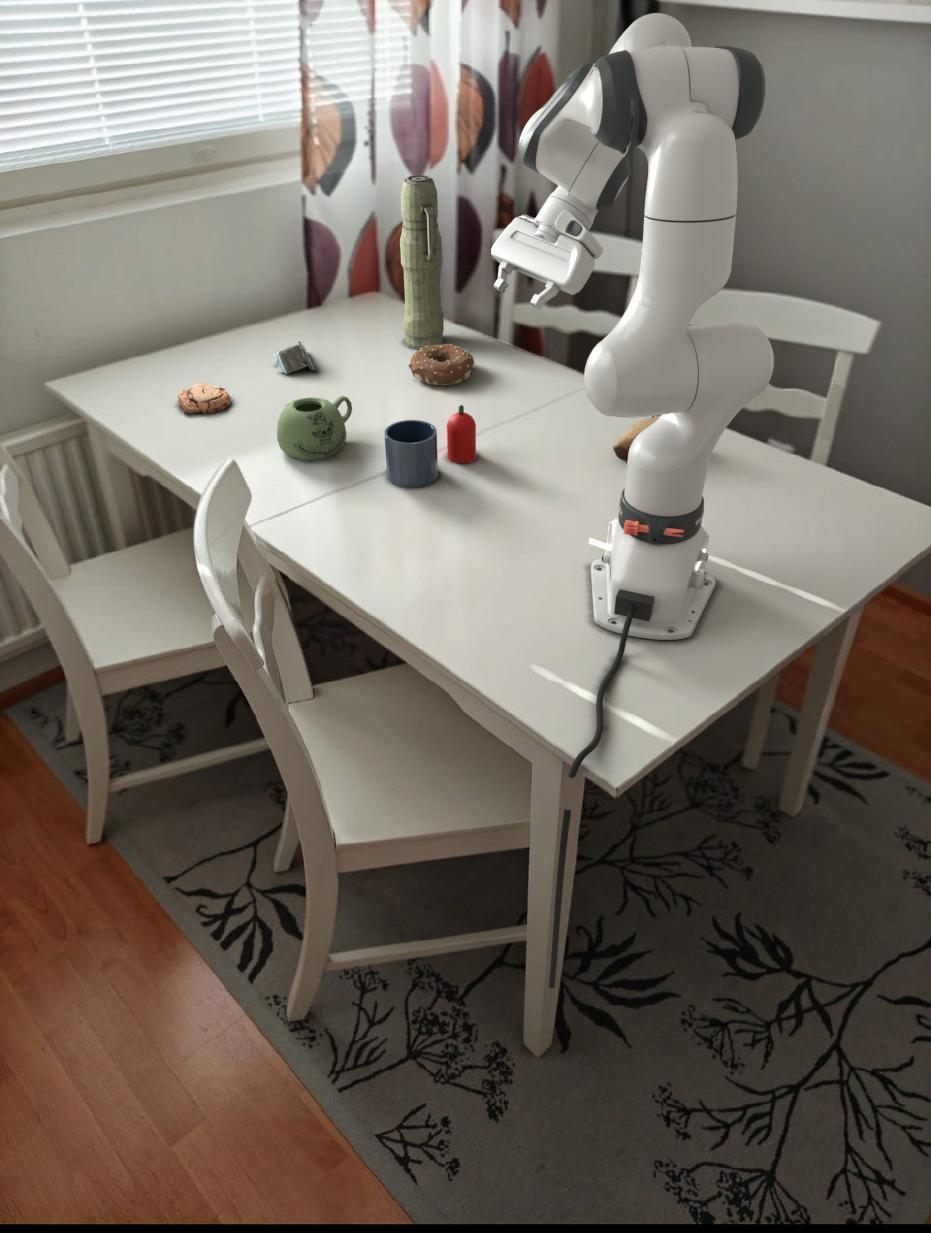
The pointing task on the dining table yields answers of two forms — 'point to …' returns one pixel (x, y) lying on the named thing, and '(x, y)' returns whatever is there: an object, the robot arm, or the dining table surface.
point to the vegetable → (631, 437)
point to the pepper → (461, 437)
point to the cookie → (204, 399)
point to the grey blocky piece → (293, 358)
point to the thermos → (421, 263)
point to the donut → (442, 364)
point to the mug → (312, 428)
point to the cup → (411, 453)
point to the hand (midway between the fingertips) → (516, 298)
